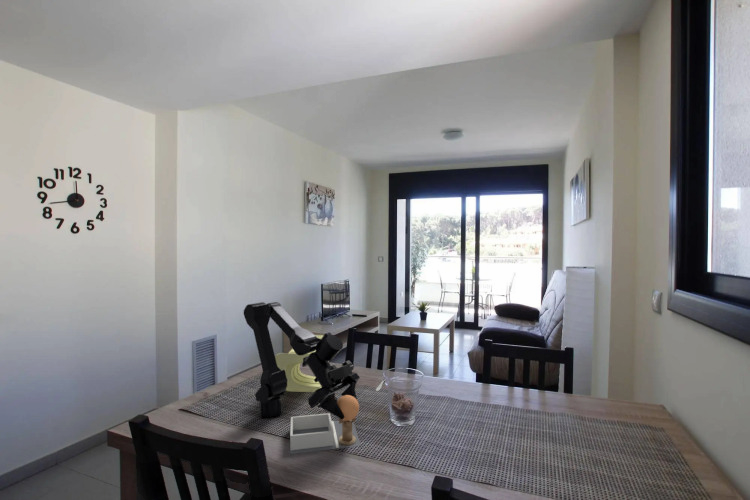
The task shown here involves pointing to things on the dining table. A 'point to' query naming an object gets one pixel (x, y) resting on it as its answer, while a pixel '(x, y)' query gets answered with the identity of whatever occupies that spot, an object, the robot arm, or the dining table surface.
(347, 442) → the ball tee
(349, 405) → the ball
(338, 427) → the grey flat plate
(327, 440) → the tray
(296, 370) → the slatted curved stool
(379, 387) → the fork
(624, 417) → the dining table surface
